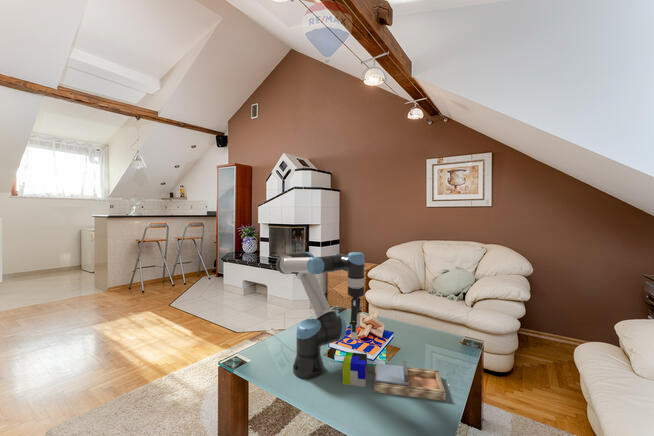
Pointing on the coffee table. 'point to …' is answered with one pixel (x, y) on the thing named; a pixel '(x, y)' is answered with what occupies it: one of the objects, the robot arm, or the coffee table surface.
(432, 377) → the board
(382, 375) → the lid
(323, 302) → the robot arm
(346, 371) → the puzzle toy
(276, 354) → the coffee table surface
